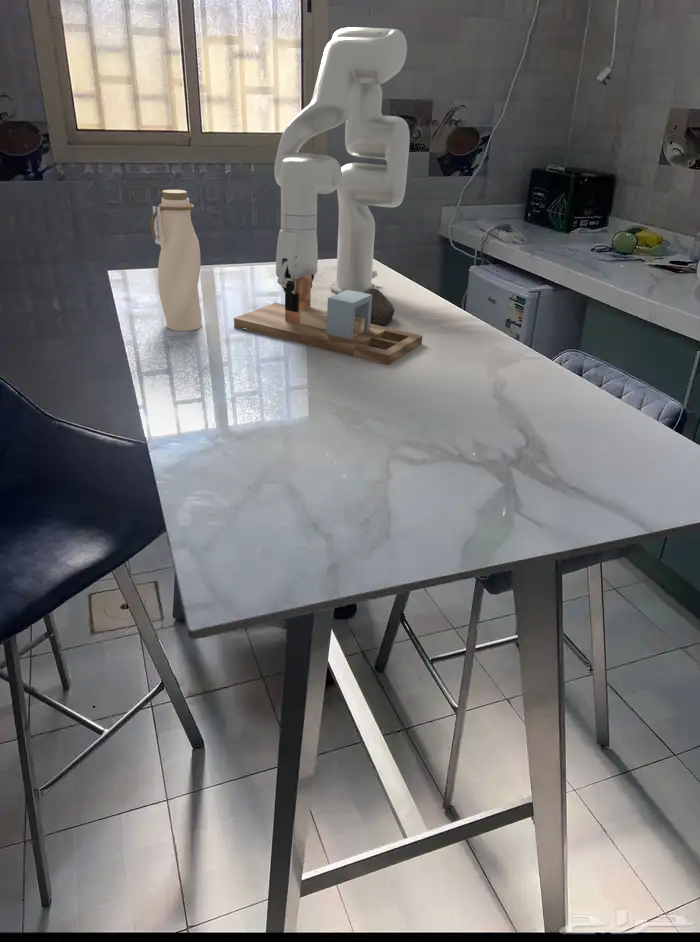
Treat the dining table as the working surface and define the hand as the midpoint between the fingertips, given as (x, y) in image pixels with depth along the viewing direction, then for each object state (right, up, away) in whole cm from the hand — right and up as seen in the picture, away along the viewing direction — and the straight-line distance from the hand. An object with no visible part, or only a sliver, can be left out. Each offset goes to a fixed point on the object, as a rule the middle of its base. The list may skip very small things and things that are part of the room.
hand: (297, 307), depth 152 cm
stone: (+17, -1, +11) cm, 20 cm away
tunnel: (+11, -6, -4) cm, 14 cm away
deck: (+6, -6, -1) cm, 9 cm away
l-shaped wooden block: (+6, -4, -2) cm, 8 cm away
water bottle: (-26, -5, 0) cm, 26 cm away
